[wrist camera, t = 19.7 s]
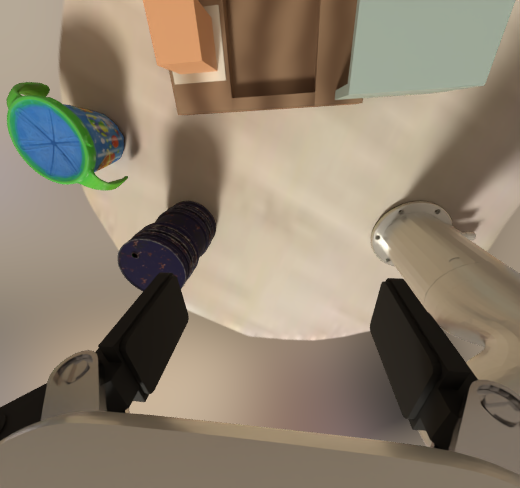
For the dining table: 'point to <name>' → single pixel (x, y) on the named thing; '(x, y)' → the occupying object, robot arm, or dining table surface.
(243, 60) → the board
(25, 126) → the snack cup
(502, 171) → the dining table surface
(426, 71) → the cover
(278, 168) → the dining table surface
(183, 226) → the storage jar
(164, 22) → the block
